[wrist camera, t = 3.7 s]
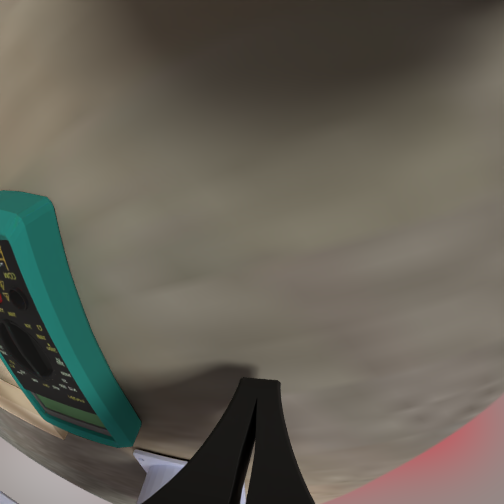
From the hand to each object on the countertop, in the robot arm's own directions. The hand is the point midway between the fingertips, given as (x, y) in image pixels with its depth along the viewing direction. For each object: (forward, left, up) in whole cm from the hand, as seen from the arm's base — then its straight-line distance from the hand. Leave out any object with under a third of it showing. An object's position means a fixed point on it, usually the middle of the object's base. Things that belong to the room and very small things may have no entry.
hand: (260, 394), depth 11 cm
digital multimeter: (0, +11, -2) cm, 11 cm away
